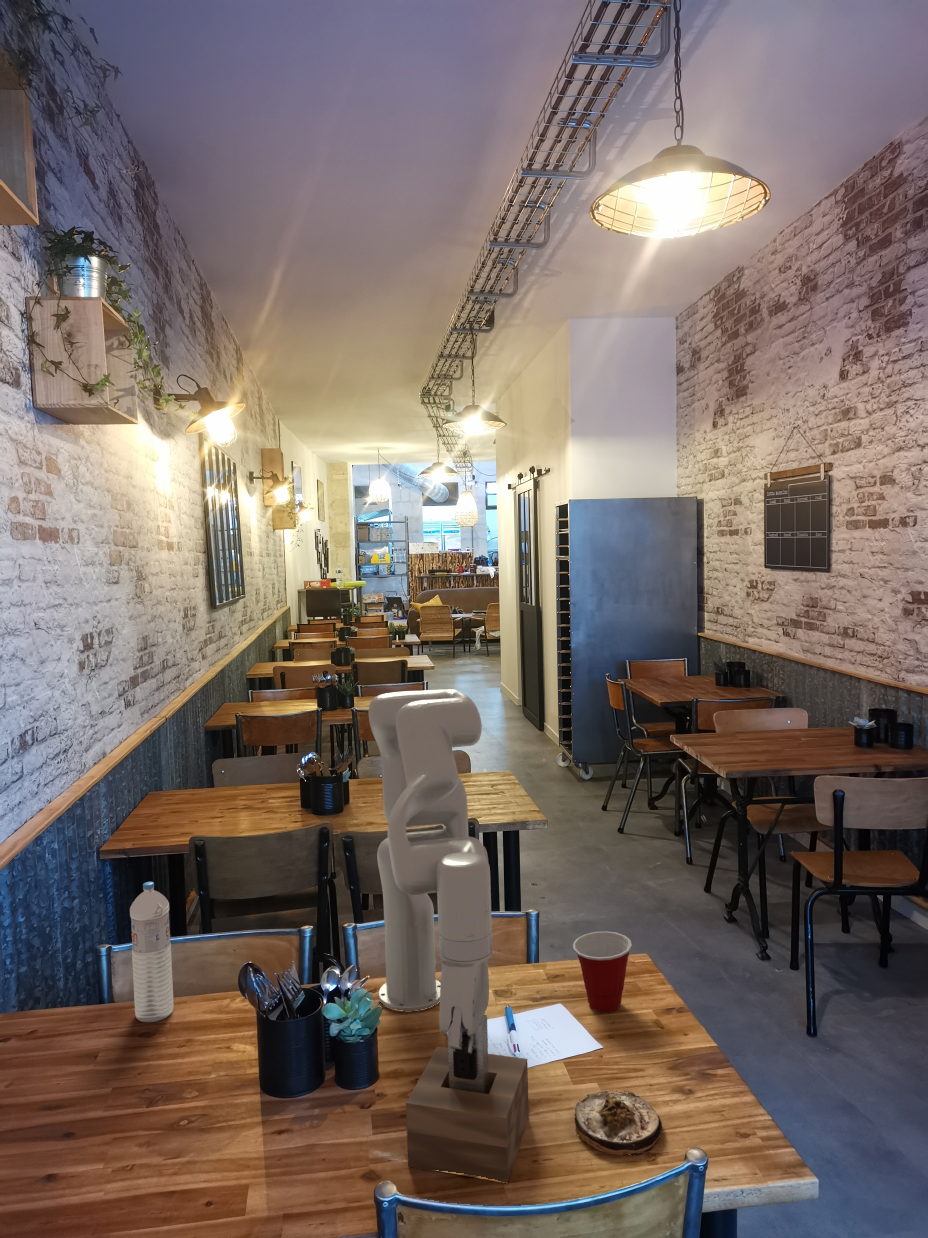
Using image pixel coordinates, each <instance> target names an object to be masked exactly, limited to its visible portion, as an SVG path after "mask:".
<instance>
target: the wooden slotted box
mask: <svg viewBox="0 0 928 1238" xmlns="http://www.w3.org/2000/svg"><path fill="white" fill-rule="evenodd" d="M528 1065H529V1064H528V1058H522V1057H517V1056H509V1055H500V1054H495V1053H488V1067H489V1084H488V1087H487V1089H486V1091H485V1094H484V1093H477V1092H471V1091H464V1090H457V1089H450V1088H449V1060H448V1047H442V1046H437V1047H436V1048H435V1050H434V1051H433V1054H432V1055H431V1058H430V1059H429V1060H428V1063H427V1064H426V1067H425V1068H424V1070H423V1072H422V1073H421V1075H420V1077H419V1079H418V1081H417V1082H416V1084H415V1086H414V1088H413V1089H412V1092H410V1095H409V1097H408V1099H407V1101H406V1102H405V1112H406V1115H405V1116H406V1143H407V1144H406V1147H407V1167H410V1168H414V1169H415V1168H416V1169H420V1170H427V1171H431V1170H439V1171H448V1172H456V1173H464V1174H468V1175H476V1176H481V1177H486V1178H488V1179H495V1180H498V1181H501V1182H505V1183H506V1182H508V1180H509V1181H510V1179H509V1177H510V1178H511V1175H512V1172H513V1169H512V1168H514V1165H515V1163H516V1160H517V1157H518V1152H519V1150H520V1146H521V1143H522V1140H523V1138H524V1135H525V1131H526V1127H527V1125H528V1123H529V1122H528V1121H529V1119H530V1118H529V1117H530V1115H529V1111H530V1110H529V1109H530V1108H529V1106H530V1105H529V1076H528V1075H529V1072H528V1069H529V1067H528ZM514 1162H515V1163H514ZM511 1171H512V1172H511ZM510 1174H511V1175H510ZM508 1183H509V1182H508Z"/></svg>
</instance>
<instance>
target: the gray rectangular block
mask: <svg viewBox="0 0 928 1238" xmlns="http://www.w3.org/2000/svg"><path fill="white" fill-rule="evenodd" d="M463 1028H465V1027H464V1026H463ZM451 1032H452V1024H451V1026H450V1028H449V1030H448V1031H447V1048H448V1060H449V1088H450V1089H457V1090H464V1091H471V1092H477V1093H484V1094H485V1091H486V1089H487V1087H488V1084H489V1067H488V1054H489V1039H488V1037H489V1035H488V1015H487V1014H484V1015H483V1017H482V1019H481V1022H480V1024H479V1026H478V1028H477V1029H476V1031H475V1033H474V1050H476V1067H477V1077H476V1079H475V1080H470V1079H463V1078H456V1077H455V1076H454V1066H453V1049H452V1048H450V1042H451ZM462 1039H466V1040H467V1042H468V1036H464V1035H462Z"/></svg>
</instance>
